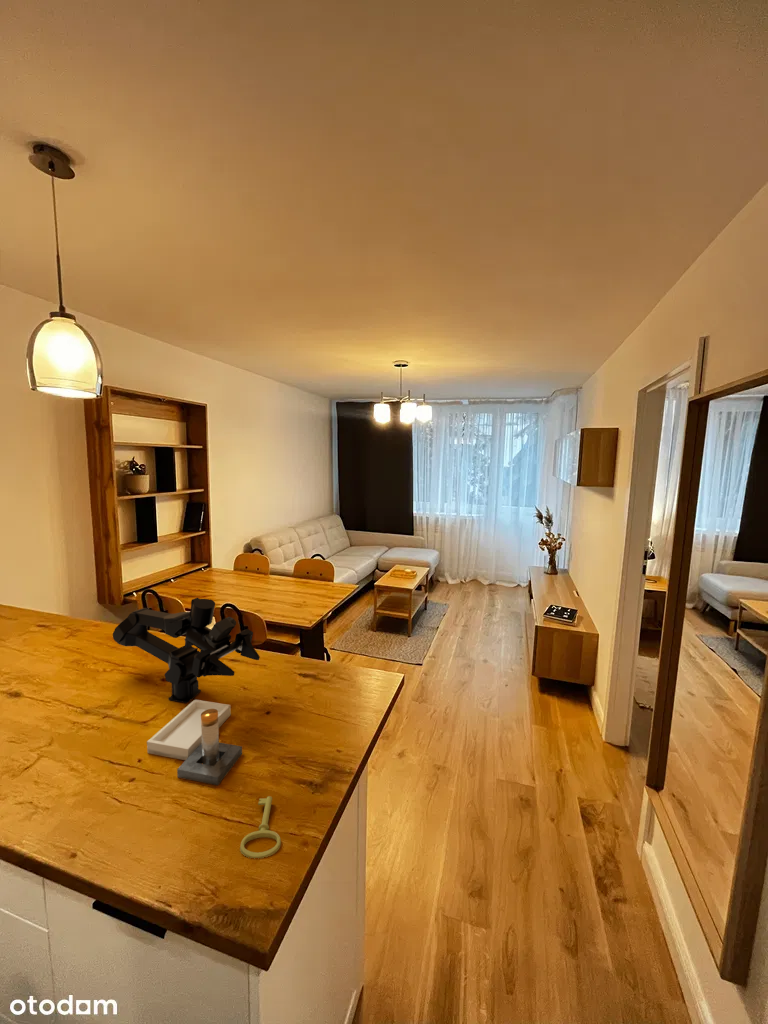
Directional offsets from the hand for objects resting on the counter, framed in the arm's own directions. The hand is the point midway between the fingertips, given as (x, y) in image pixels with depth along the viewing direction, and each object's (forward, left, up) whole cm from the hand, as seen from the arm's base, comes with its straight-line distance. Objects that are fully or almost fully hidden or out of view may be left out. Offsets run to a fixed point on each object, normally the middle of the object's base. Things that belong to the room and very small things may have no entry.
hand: (246, 666), depth 112 cm
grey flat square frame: (0, -17, -16) cm, 23 cm away
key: (+20, -30, -16) cm, 40 cm away
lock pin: (0, -17, -16) cm, 23 cm away
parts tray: (-11, -8, -16) cm, 21 cm away
